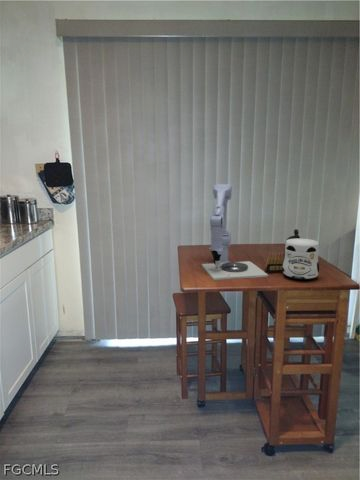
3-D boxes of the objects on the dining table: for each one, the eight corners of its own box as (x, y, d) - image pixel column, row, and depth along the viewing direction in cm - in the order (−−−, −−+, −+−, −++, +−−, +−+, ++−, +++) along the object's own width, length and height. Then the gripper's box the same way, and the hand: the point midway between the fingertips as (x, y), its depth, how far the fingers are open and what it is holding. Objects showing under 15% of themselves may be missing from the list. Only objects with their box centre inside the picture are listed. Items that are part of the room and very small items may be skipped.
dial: (238, 263, 207) (239, 254, 206) (253, 270, 195) (253, 260, 193) (209, 267, 200) (209, 257, 199) (222, 274, 188) (222, 264, 186)
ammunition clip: (265, 272, 194) (268, 252, 188) (264, 270, 196) (267, 250, 190) (285, 271, 195) (289, 252, 189) (284, 269, 196) (288, 250, 190)
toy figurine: (303, 263, 215) (299, 249, 238) (305, 232, 210) (301, 221, 233) (286, 263, 217) (284, 249, 240) (288, 231, 211) (285, 220, 235)
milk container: (293, 283, 176) (295, 246, 172) (275, 273, 192) (277, 239, 189) (326, 280, 180) (328, 244, 176) (306, 270, 196) (308, 237, 193)
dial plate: (201, 265, 208) (201, 263, 207) (250, 262, 212) (250, 261, 212) (213, 280, 182) (213, 278, 182) (268, 276, 187) (268, 274, 187)
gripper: (205, 236, 199) (205, 261, 202) (212, 242, 185) (212, 268, 188) (218, 235, 200) (218, 260, 203) (226, 241, 186) (226, 268, 189)
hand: (216, 264), depth 195 cm, fingers closed, pressing on dial
